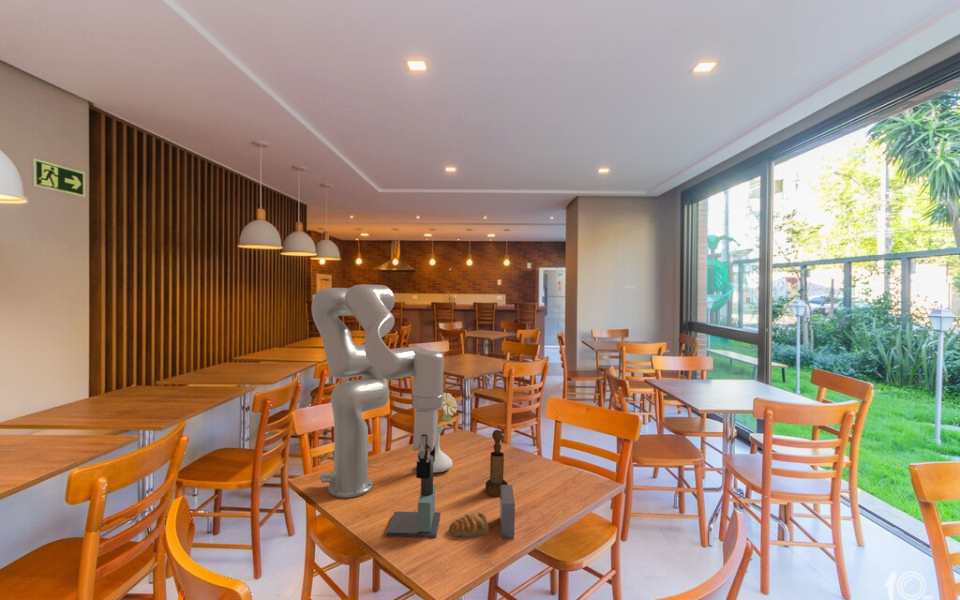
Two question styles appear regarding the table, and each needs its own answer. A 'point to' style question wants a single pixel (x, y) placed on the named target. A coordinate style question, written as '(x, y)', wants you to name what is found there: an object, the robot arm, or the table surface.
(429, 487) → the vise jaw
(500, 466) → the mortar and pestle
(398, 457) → the table surface
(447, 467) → the flower in vase
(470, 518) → the pastry
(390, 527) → the dark grey flat plate
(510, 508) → the block
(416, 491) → the table surface
